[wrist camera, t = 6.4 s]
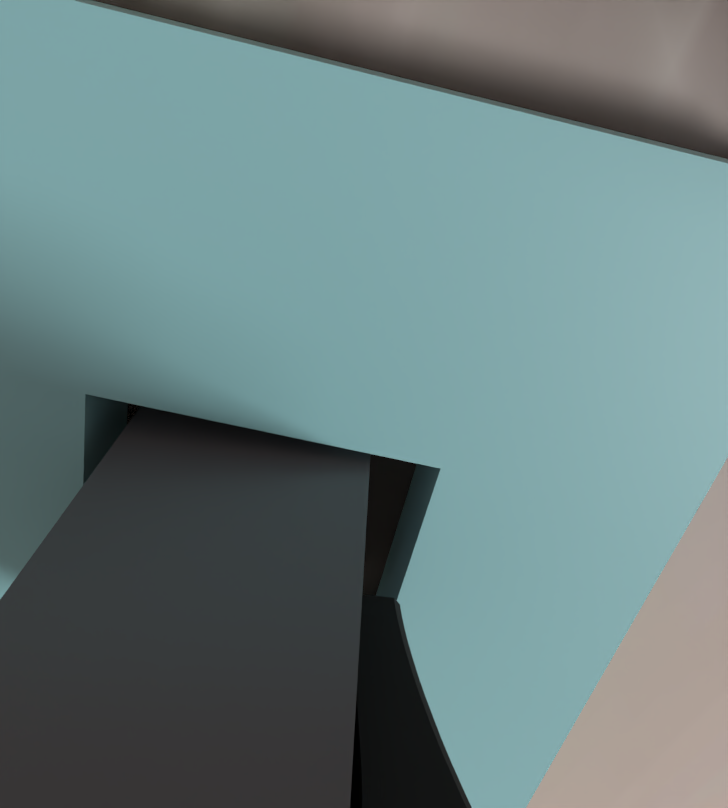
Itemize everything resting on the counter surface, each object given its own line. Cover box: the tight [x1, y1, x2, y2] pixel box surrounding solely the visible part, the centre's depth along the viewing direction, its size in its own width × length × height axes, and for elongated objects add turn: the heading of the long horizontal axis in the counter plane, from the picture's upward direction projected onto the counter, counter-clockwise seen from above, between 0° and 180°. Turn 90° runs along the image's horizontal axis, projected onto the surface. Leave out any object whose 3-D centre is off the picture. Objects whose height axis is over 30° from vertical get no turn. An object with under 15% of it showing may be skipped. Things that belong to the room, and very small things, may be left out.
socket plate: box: [0, 0, 728, 808], centre depth 12 cm, size 14×16×2 cm
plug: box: [0, 406, 370, 808], centre depth 9 cm, size 4×4×7 cm
